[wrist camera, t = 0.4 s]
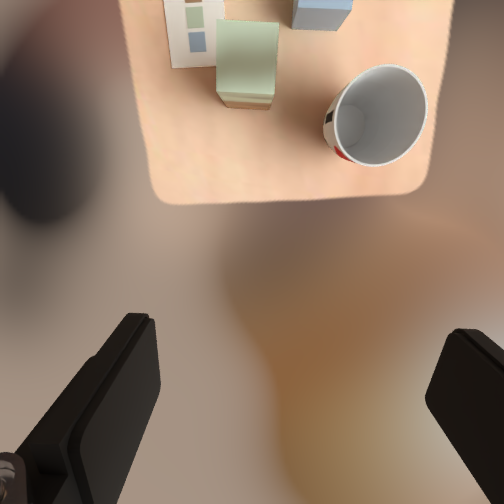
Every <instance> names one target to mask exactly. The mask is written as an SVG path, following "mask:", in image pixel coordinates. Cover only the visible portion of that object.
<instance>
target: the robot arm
mask: <svg viewBox="0 0 504 504" xmlns="http://www.w3.org/2000/svg"><path fill="white" fill-rule="evenodd" d="M160 385H161V381H160V370H159V360H158V350H157V340H156V330H155V321H154V319H151V318H149V315H148V314H144V313H128V314H127V315H126V316H125V317H124V318H123V320H122V321H121V322H120V324H119V325H118V326H117V327H116V329H115V330H114V331H113V333H112V334H111V335H110V337H109V338H108V339H107V341H106V342H105V343H104V345H103V346H102V347H101V348H100V350H99V351H98V352H97V354H96V355H95V356H92V357H90V358H89V359H88V360H87V361H86V362H85V364H84V365H83V366H82V368H81V369H80V370H79V371H78V373H77V374H76V375H75V376H74V378H73V379H72V380H71V382H70V383H69V384H68V385H67V387H66V388H65V389H64V390H63V392H62V393H61V394H60V396H59V397H58V398H57V399H56V401H55V402H54V403H53V405H52V406H51V407H50V408H49V410H48V411H47V412H46V413H45V415H44V416H43V417H42V418H41V420H40V421H39V422H38V424H37V425H36V426H35V427H34V429H33V430H32V431H31V432H30V434H29V435H28V437H27V438H26V439H25V440H24V442H23V443H22V444H21V445H20V447H19V448H18V449H17V451H16V452H15V453H10V452H1V453H0V504H117V501H118V498H119V496H120V493H121V491H122V488H123V486H124V483H125V481H126V478H127V475H128V473H129V470H130V468H131V465H132V462H133V460H134V457H135V455H136V452H137V450H138V447H139V444H140V441H141V439H142V437H143V434H144V431H145V429H146V426H147V424H148V421H149V419H150V416H151V413H152V411H153V408H154V406H155V403H156V401H157V398H158V395H159V392H160ZM425 401H426V404H427V407H428V409H429V410H430V412H431V413H432V415H433V416H434V418H435V419H436V421H437V422H438V424H439V425H440V427H441V428H442V430H443V431H444V433H445V434H446V436H447V437H448V439H449V441H450V442H451V444H452V445H453V446H454V448H455V450H456V451H457V453H458V454H459V455H460V457H461V459H462V460H463V462H464V463H465V465H466V466H467V468H468V469H469V471H470V472H471V474H472V475H473V477H474V478H475V480H476V482H477V483H478V485H479V486H480V488H481V489H482V490H483V492H484V494H485V495H486V497H487V498H488V500H489V501H490V503H491V504H504V350H503V349H502V348H501V347H500V346H498V345H497V344H496V343H495V342H493V341H492V340H491V339H490V338H489V337H487V336H486V335H485V334H484V333H483V332H481V331H479V330H476V329H460V328H458V329H455V330H454V331H453V332H452V333H450V334H449V335H448V337H447V339H446V341H445V344H444V347H443V350H442V352H441V355H440V357H439V360H438V363H437V366H436V368H435V371H434V373H433V376H432V378H431V381H430V384H429V386H428V389H427V392H426V395H425Z"/></svg>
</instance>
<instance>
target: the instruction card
mask: <svg viewBox="0 0 504 504" xmlns="http://www.w3.org/2000/svg"><path fill="white" fill-rule="evenodd" d="M163 1H164V9H165V16H166V24H167V32H168V40H169V48H170V56H171V64H172V69H176V68H194V67H212V66H216V19H222V20H225V11H224V0H163Z"/></svg>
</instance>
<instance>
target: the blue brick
mask: <svg viewBox="0 0 504 504" xmlns="http://www.w3.org/2000/svg"><path fill="white" fill-rule="evenodd" d="M352 3H353V0H294V1H293V14H292V28H291V29H303V30H324V31H337V30H338V29H339V27H340V26H341V24H342V23H343V21H344V20H345V19H346V17H347V16H348V14H349V13H350V11H351V10H352Z"/></svg>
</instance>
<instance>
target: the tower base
mask: <svg viewBox="0 0 504 504" xmlns="http://www.w3.org/2000/svg"><path fill="white" fill-rule="evenodd" d="M278 35H279V23H275V22H257V21H240V20H222V19H216V92H217V93H218V95H219V96H220V98H221V99H222V101H223V102H224V103H225V105H226V106H227V108H242V109H260V110H269V108H270V106H271V103H272V100H273V97H274V93H275V78H276V64H277V49H278Z"/></svg>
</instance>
